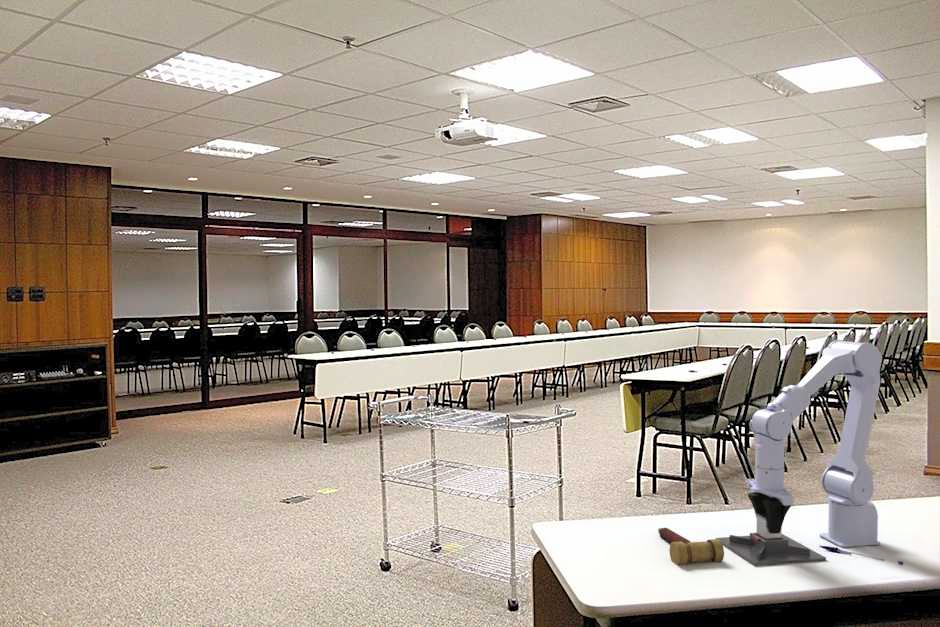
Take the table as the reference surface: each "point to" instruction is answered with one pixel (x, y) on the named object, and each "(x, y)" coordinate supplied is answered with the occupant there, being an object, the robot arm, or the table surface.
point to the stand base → (769, 550)
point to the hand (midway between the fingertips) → (769, 529)
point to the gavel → (692, 548)
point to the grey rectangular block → (765, 528)
